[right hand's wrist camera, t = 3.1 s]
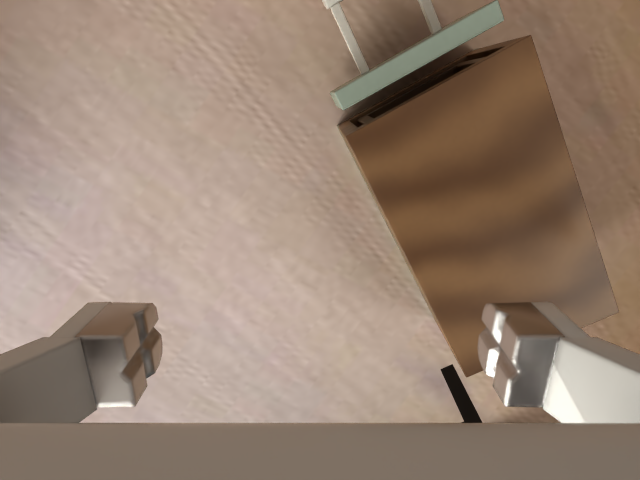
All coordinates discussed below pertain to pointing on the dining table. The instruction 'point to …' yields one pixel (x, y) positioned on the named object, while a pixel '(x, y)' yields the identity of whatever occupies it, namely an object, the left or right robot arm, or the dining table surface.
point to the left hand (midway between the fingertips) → (565, 335)
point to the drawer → (409, 55)
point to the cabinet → (483, 195)
